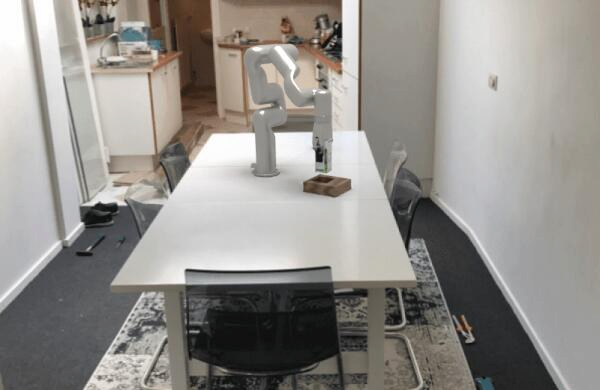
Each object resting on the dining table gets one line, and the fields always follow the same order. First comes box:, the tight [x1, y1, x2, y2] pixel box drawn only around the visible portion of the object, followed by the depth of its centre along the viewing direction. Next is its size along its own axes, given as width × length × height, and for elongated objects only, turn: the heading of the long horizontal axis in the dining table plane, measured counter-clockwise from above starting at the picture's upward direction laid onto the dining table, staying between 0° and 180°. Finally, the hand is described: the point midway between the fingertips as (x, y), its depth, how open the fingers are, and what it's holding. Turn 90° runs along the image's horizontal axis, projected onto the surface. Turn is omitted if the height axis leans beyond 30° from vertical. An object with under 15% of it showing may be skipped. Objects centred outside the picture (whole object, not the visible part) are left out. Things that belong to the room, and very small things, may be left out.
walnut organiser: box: [302, 173, 352, 198], centre depth 284 cm, size 16×14×4 cm
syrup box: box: [314, 139, 333, 174], centre depth 281 cm, size 6×6×14 cm
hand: (323, 160), depth 282 cm, fingers closed on syrup box, 6 cm apart
